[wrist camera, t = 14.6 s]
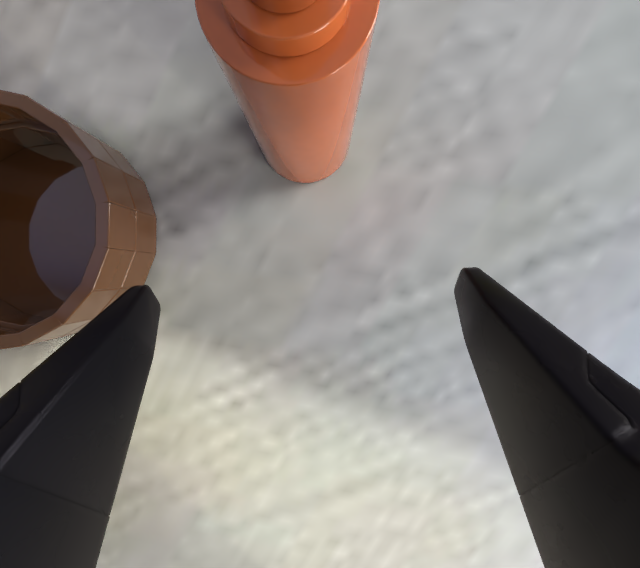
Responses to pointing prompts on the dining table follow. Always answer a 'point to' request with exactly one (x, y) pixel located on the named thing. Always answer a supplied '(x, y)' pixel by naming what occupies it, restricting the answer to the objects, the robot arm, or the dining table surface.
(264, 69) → the bottle
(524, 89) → the dining table surface
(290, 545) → the dining table surface
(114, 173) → the bowl
